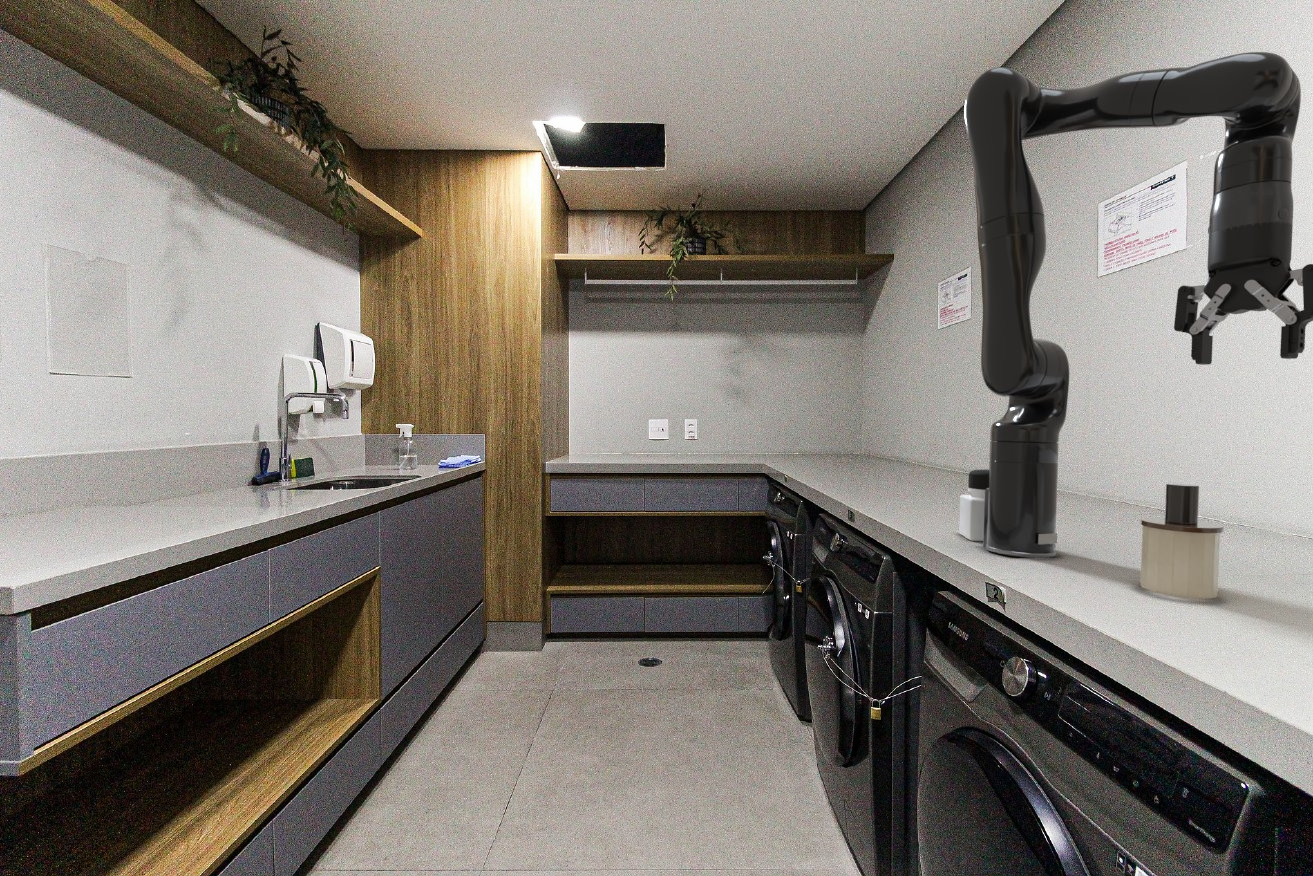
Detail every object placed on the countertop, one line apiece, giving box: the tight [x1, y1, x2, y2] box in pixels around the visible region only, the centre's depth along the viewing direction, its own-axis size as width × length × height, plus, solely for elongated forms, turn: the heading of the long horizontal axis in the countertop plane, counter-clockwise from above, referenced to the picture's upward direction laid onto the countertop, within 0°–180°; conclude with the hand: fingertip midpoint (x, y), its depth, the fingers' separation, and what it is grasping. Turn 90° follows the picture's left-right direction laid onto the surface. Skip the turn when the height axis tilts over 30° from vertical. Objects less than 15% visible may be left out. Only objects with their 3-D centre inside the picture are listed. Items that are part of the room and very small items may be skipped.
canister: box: [1139, 525, 1221, 600], centre depth 75 cm, size 7×7×8 cm
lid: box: [1139, 483, 1225, 534], centre depth 75 cm, size 8×8×6 cm
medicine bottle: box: [958, 468, 989, 542], centre depth 111 cm, size 7×7×12 cm
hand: (1243, 361), depth 78 cm, fingers open, 8 cm apart
